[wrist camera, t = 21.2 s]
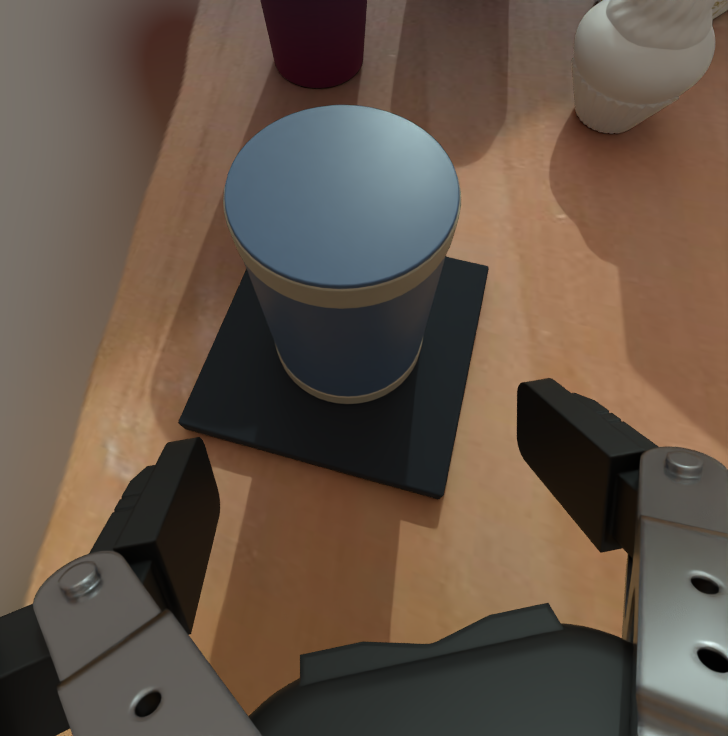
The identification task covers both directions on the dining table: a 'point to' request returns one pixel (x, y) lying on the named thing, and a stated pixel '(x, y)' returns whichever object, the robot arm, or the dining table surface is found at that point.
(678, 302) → the dining table surface
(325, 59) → the cup
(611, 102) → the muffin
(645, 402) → the dining table surface
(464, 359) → the mat
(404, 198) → the disc
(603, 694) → the robot arm
